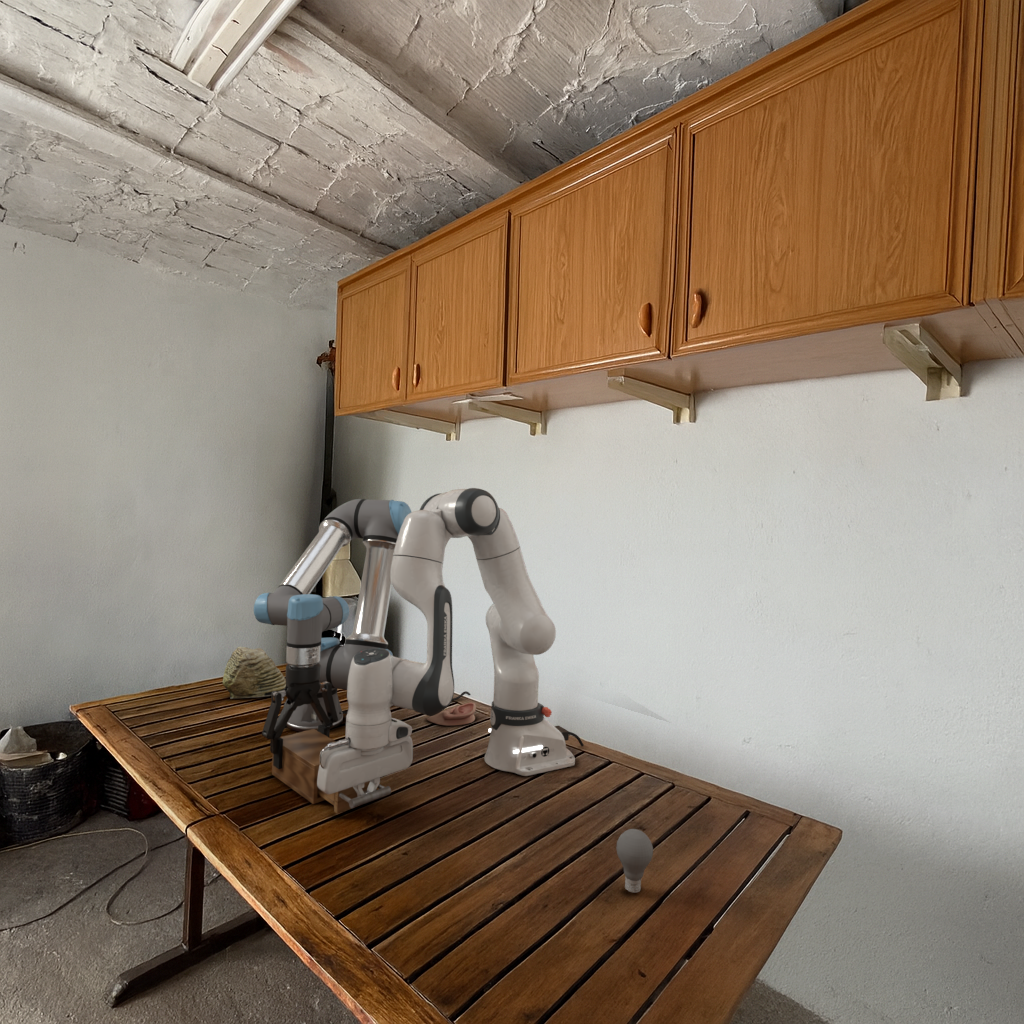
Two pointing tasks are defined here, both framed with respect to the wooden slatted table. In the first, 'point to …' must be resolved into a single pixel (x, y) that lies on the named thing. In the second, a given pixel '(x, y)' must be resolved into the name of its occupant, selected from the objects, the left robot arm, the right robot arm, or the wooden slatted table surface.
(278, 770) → the cabinet
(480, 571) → the right robot arm
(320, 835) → the wooden slatted table surface
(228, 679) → the fossil
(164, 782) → the wooden slatted table surface
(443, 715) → the anatomical model
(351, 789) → the drawer
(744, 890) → the wooden slatted table surface
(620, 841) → the light bulb
